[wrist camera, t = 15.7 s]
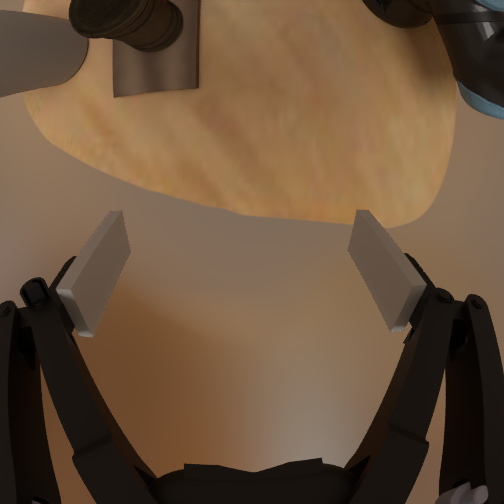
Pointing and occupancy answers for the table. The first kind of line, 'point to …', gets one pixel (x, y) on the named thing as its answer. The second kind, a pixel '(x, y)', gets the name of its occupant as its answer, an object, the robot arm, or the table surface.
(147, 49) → the container
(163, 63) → the shelf board
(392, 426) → the robot arm
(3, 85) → the cylinder vase
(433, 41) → the table surface
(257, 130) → the table surface
